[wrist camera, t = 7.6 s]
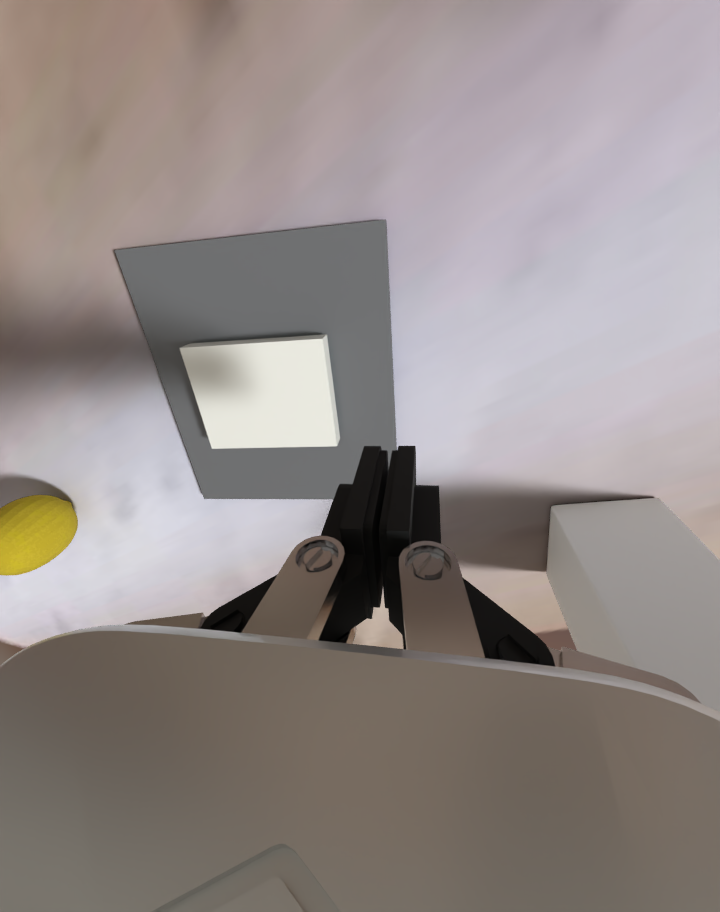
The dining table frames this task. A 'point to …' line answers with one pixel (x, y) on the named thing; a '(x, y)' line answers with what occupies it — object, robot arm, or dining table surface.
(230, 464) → the mat
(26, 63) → the dining table surface
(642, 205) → the dining table surface
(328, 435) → the tile
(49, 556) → the lemon
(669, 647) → the milk carton
